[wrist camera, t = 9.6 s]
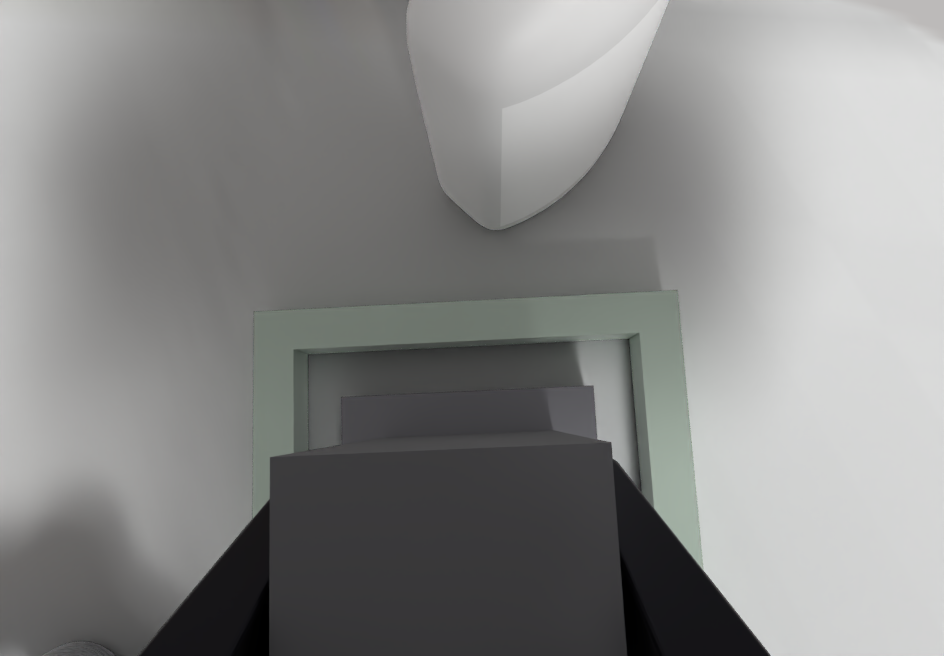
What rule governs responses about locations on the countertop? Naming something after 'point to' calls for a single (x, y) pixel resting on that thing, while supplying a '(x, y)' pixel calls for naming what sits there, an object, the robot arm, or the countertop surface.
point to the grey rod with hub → (80, 650)
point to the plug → (449, 530)
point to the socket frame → (482, 324)
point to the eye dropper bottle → (523, 93)
